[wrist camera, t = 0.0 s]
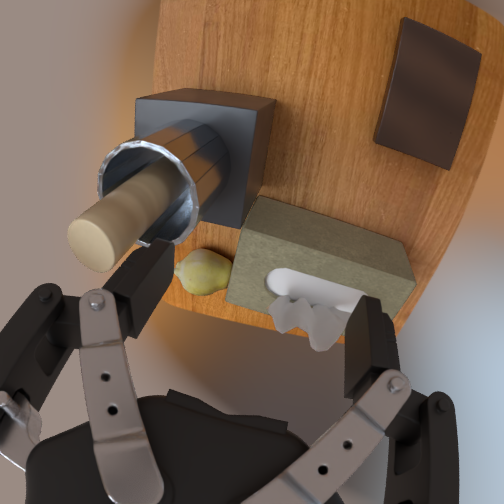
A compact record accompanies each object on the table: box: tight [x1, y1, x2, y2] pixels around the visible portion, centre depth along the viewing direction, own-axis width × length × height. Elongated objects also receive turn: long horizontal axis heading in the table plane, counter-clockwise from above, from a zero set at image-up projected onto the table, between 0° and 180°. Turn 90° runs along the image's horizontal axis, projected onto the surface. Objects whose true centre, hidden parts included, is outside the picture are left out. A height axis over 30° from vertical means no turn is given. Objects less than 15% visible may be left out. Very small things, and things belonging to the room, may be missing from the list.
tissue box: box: [225, 196, 417, 352], centre depth 30 cm, size 19×10×16 cm, turn 77°
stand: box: [135, 88, 276, 229], centre depth 27 cm, size 10×10×10 cm
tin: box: [97, 119, 231, 247], centre depth 20 cm, size 7×7×7 cm
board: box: [373, 17, 482, 171], centre depth 23 cm, size 14×9×2 cm, turn 171°
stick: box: [68, 156, 189, 273], centre depth 18 cm, size 3×3×12 cm
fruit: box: [174, 249, 233, 296], centre depth 39 cm, size 6×6×10 cm
